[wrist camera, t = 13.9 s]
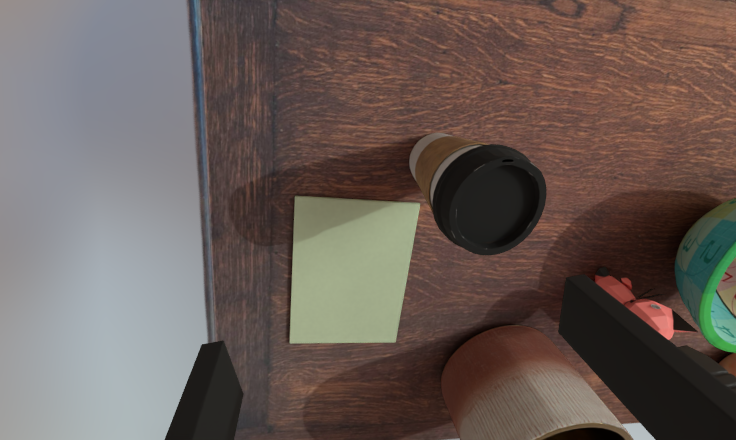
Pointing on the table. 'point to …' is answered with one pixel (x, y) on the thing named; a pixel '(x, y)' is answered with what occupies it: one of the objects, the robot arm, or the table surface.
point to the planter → (522, 391)
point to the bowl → (711, 275)
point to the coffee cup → (478, 191)
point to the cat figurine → (643, 305)
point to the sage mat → (349, 268)
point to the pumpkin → (729, 363)
